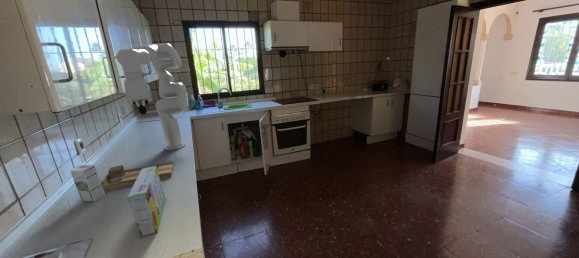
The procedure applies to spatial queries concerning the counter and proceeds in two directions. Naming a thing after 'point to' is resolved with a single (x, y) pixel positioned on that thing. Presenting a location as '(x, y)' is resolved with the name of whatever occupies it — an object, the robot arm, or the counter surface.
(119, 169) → the block
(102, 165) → the counter surface
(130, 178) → the tray
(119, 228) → the counter surface
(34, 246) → the counter surface
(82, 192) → the syrup box
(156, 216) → the snack box
